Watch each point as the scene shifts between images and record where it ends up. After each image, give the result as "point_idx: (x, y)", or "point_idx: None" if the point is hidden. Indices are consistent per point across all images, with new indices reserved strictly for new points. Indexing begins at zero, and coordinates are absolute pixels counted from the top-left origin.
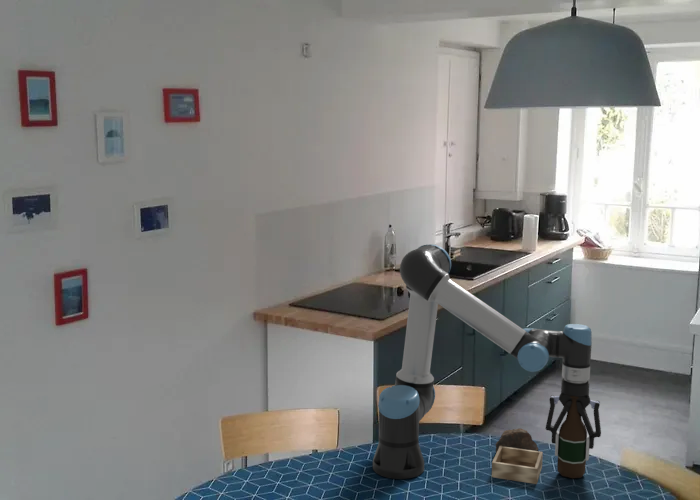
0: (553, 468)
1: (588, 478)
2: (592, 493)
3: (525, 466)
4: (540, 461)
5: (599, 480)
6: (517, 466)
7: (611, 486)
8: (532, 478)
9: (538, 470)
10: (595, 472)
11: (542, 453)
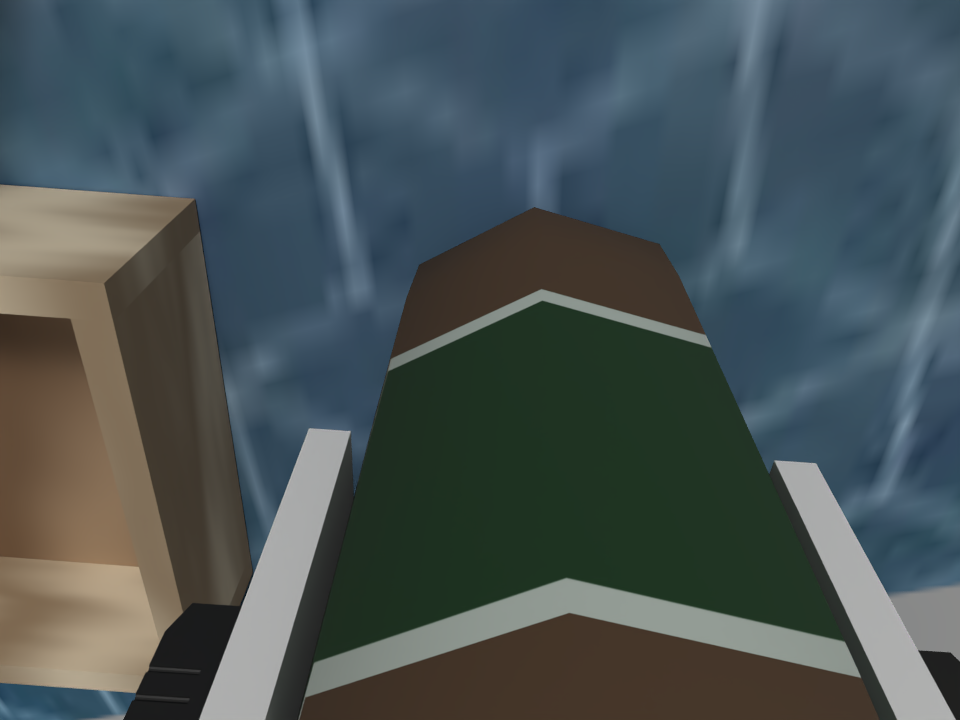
0: (336, 225)
1: (726, 373)
2: None
3: (76, 674)
4: (170, 471)
5: (838, 390)
6: (6, 679)
7: (924, 479)
8: None
9: (210, 572)
10: (852, 200)
11: (116, 297)
